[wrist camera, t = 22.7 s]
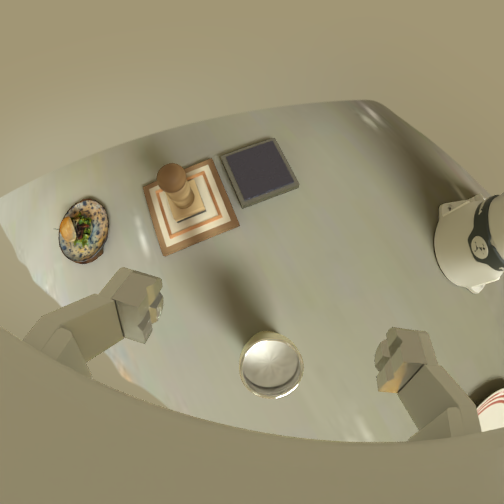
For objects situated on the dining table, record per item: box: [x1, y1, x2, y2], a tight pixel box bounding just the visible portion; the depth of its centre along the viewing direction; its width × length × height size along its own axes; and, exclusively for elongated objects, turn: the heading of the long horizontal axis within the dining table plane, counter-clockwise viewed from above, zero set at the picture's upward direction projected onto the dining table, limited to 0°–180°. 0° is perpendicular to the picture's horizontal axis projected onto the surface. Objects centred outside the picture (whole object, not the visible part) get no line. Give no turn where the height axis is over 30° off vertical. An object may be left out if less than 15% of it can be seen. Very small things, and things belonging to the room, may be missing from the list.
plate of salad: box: [57, 199, 109, 264], centre depth 43 cm, size 12×12×8 cm
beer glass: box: [239, 331, 304, 399], centre depth 35 cm, size 7×7×15 cm
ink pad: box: [221, 138, 299, 209], centre depth 47 cm, size 10×10×2 cm
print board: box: [143, 158, 240, 256], centre depth 46 cm, size 13×13×1 cm
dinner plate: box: [476, 388, 504, 432], centre depth 34 cm, size 28×27×3 cm
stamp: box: [157, 163, 206, 223], centre depth 40 cm, size 5×5×12 cm
